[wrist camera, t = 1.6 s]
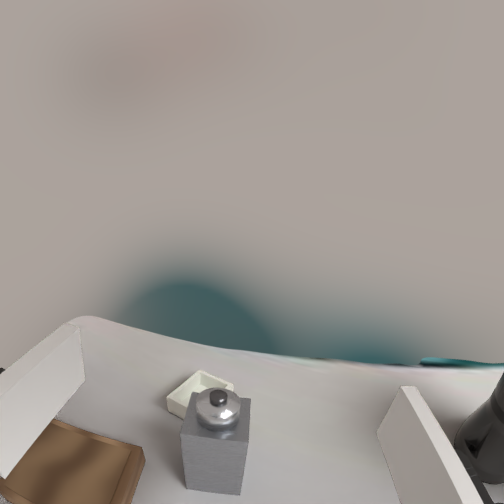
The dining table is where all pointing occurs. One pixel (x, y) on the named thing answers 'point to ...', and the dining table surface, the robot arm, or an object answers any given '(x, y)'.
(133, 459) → the stand
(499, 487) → the dining table surface
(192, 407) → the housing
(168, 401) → the box
